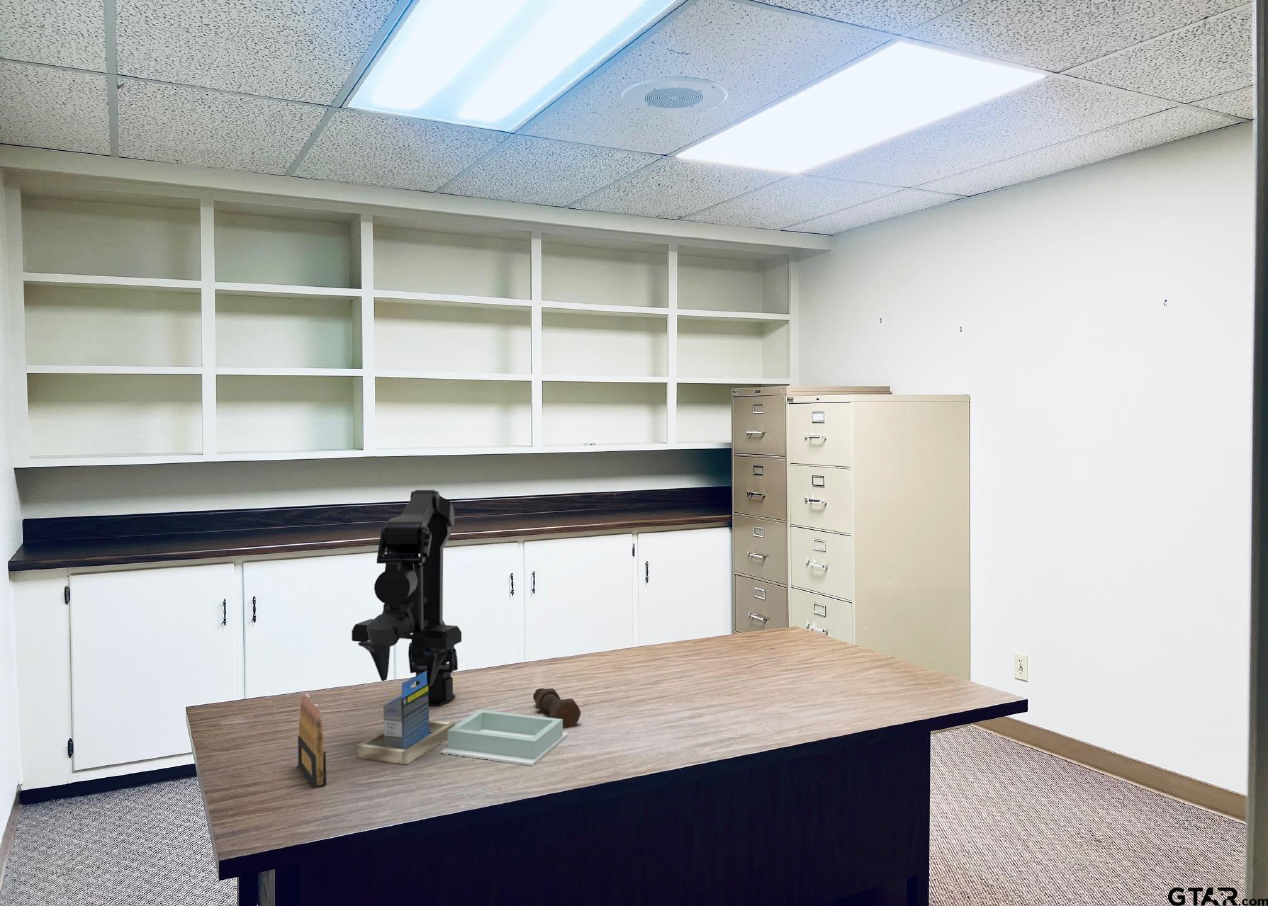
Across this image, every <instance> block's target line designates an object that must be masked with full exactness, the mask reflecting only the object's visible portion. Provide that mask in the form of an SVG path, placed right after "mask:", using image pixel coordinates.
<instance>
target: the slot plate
mask: <svg viewBox="0 0 1268 906" xmlns="http://www.w3.org/2000/svg"><path fill="white" fill-rule="evenodd" d="M563 730H564V728H563V719H556V718H551V717H547V716H537V715H528V714H520V713H512V712H504V711H503V712H502V711H494V710H485V709H478V710H476V712H474V713H473V714H471V715H470V716H468V717H466V718H465V719H463V720H462V721H459V722H458V723H457V724H455V726H454V727H452V728H450V729H449V730H447V732H448V739H447V746H446V747H445V748H443V749H442V750H440V754H441V753H443V754H442V755H448V754H452V755H451V756H455V755H458V756H457V757H462V756H465V757H464V758H471V759H477V758H479V759H478V760H484V759H488V760H487V761H492V760H493V761H494V762H499V761H500V762H501V763H507V764H516V765H521V764H522V765H524V766H529V767H533V766H534V765H535V764H536V763H537V762H538V761H541V759H542V758H543V757H544V756H546V755H547V754H548V753H549V752H550V751H551V750H552V749H554V748H555V747H557V745H559V744H560V743H561V742H562V741H563V740H564V739H566V737H568V736H569V732H567V731H566V732H565V731H563Z"/></svg>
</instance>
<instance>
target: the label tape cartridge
mask: <svg viewBox="0 0 1268 906" xmlns="http://www.w3.org/2000/svg"><path fill="white" fill-rule="evenodd" d="M418 681H420V683H419V684H418V685H417V686H416V685H415V686H414V687H412V686H413V685H414V684H416V682H418ZM429 706H430V705H429V701H428V685H427V671H425V672H423V673H421V674H419V675H417V676H416V675H415V676H414V677H411V678H410V679H408V680H405V681H404V682H402V683H401V695H400V696H398V697H396V698H394V699H393V700H391V701H390V702H387V703H385V704H384V705H383V730H384V745H383V747H389V748H396V749H404V750H406V749H408V748H409V747H411V746H413V745H414V744H416V743H417V742H419V741H421V740H422V739H424V738H426V737H427V736H429V735H430V733H429V720H430V712H429V711H430V708H429Z"/></svg>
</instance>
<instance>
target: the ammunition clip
mask: <svg viewBox="0 0 1268 906" xmlns="http://www.w3.org/2000/svg"><path fill="white" fill-rule="evenodd" d="M299 715H300V716H299V719H298V720H299V723H298V725H299V726H298V728H299V729H298V731H299V735H298V736H297V752H298V753H297V760H298V761H297V766H299V767H298V768H299V769H300V771H301V772H302V773H304V774H303V775H304V776H305V779H307V780H309V781H310V782H309V781H308V782H309V784H310V785H311V786H312V788H313V787H314V788H313V789H317V788H320V786H322V787H326V786H327V762H326V761H327V760H326V758H327V756H326V752H325V737H324V736H325V734H324V732H323V731H324V730H323V719H322V718H323V717H322V714H321V710H320V709H319V708H318V707H317V705H316V704H315V702H314V701H312V700H311V699H310V698H309V696H308V695H306V693H303V694H302V697H301V700H300V714H299ZM325 785H326V786H325ZM316 787H317V788H316Z"/></svg>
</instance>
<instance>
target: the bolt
mask: <svg viewBox="0 0 1268 906" xmlns="http://www.w3.org/2000/svg"><path fill="white" fill-rule="evenodd" d="M532 698H533V701H534V703H535V705H536V706H537V708H538V710H539V711H540V712H541V714H548V713H549V718H556V719H563V729H568V728H569V727H570V728H573V727H575V726H576V725H577V723H578V722H579V719H580V717H581V715H582V712H581V710H580V707H579V706H578V704H577V703H576V701H575V699H573V698H565V699H561V697H560V695H559V694H558V692H557V691H556V690H555V689H554V688H553V687H551V688H545V687H544V688H542V687H541V688H537V689H536V690H535V691H534V693H533V696H532Z"/></svg>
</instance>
